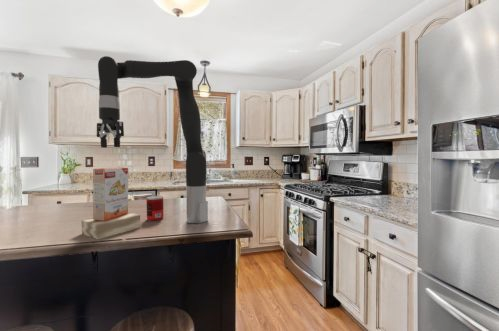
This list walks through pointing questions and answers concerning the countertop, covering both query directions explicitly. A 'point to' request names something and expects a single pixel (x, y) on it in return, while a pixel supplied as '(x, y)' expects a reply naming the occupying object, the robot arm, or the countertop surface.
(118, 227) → the folded beige towel
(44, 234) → the countertop surface
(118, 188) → the cracker box
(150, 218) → the canned food
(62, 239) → the countertop surface
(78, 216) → the countertop surface
